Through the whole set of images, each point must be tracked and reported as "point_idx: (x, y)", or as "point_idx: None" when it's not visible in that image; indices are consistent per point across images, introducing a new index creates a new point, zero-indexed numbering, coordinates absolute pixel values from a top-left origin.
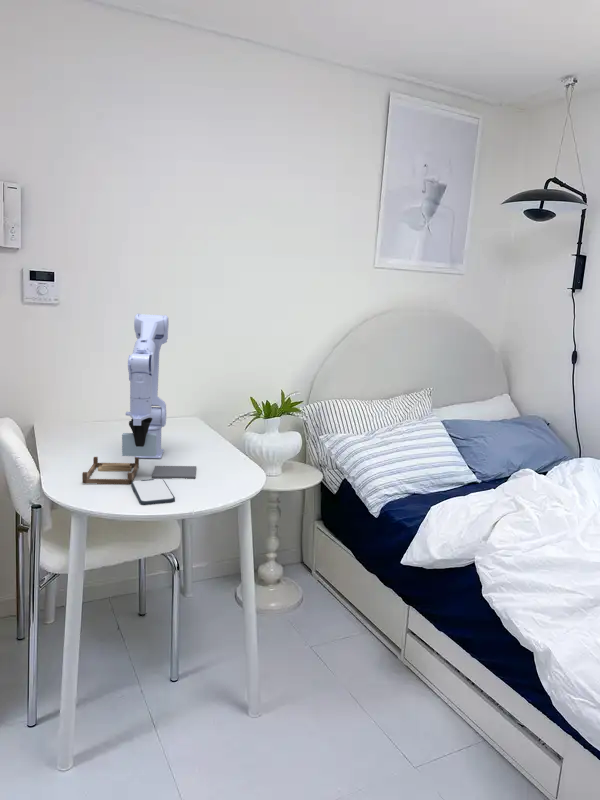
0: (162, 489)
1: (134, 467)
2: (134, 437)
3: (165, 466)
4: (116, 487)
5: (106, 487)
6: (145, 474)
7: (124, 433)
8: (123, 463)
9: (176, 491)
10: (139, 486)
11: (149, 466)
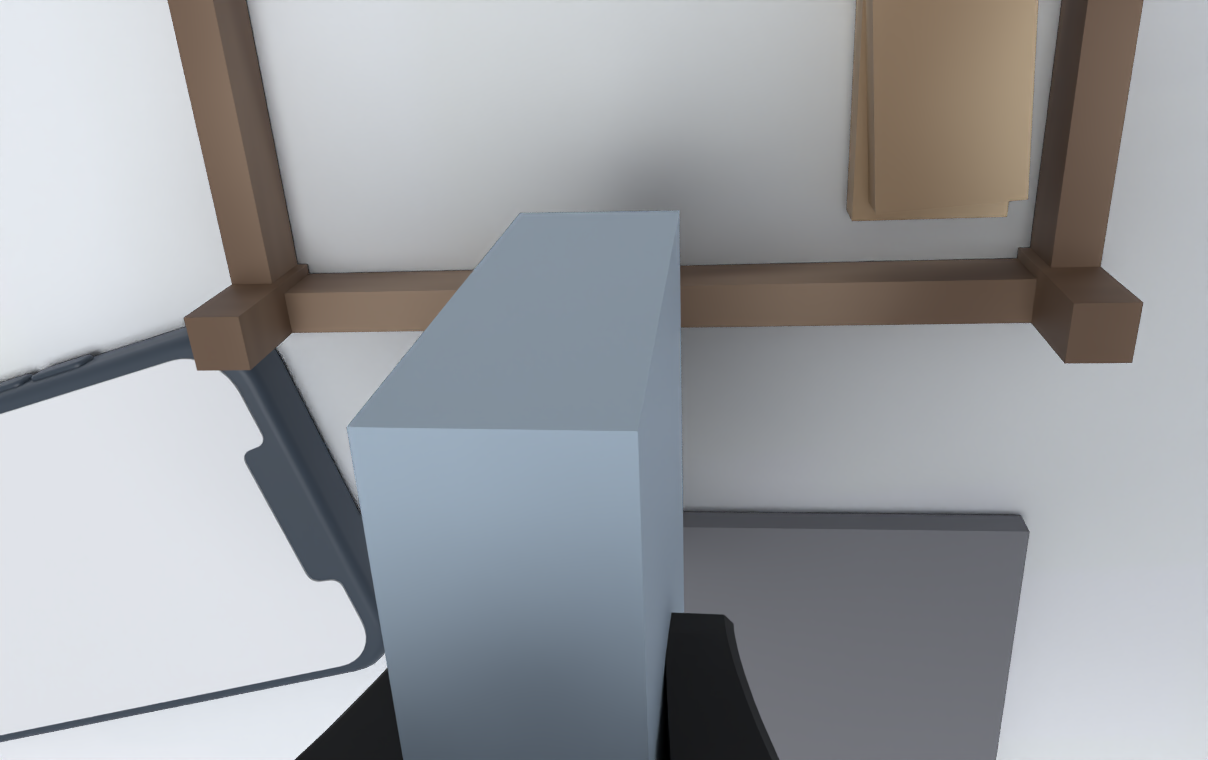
0: (52, 669)
1: (840, 289)
2: (300, 757)
3: (979, 651)
4: (115, 143)
5: (76, 4)
6: (703, 426)
7: (570, 483)
8: (1021, 84)
9: (172, 746)
10: (61, 450)
11: (1095, 440)
